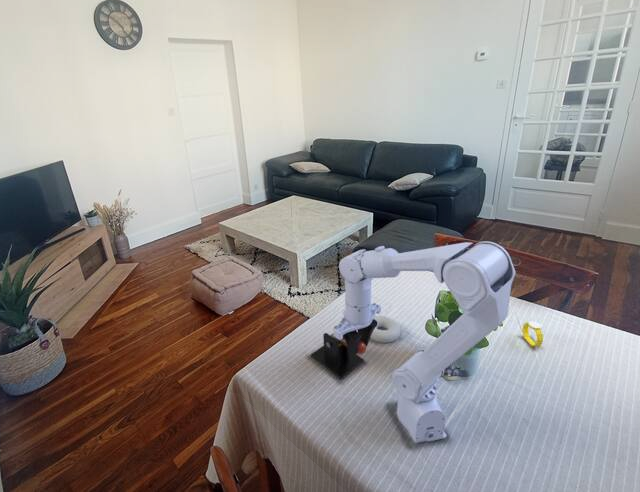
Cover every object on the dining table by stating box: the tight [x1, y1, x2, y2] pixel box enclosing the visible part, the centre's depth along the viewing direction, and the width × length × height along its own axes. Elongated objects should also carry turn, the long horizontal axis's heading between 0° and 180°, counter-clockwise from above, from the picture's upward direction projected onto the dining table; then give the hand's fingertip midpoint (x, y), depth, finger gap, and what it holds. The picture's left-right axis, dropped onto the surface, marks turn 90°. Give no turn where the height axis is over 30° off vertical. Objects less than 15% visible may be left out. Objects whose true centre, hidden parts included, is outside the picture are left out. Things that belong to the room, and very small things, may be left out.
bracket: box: [310, 325, 365, 381], centre depth 88 cm, size 11×9×9 cm
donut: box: [370, 315, 402, 344], centre depth 98 cm, size 10×4×10 cm
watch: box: [521, 320, 544, 347], centre depth 89 cm, size 6×3×6 cm, turn 178°
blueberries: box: [442, 364, 465, 382], centre depth 83 cm, size 7×8×2 cm
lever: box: [329, 332, 367, 355], centre depth 84 cm, size 11×3×3 cm, turn 38°
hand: (358, 348), depth 81 cm, fingers closed on lever, 3 cm apart
